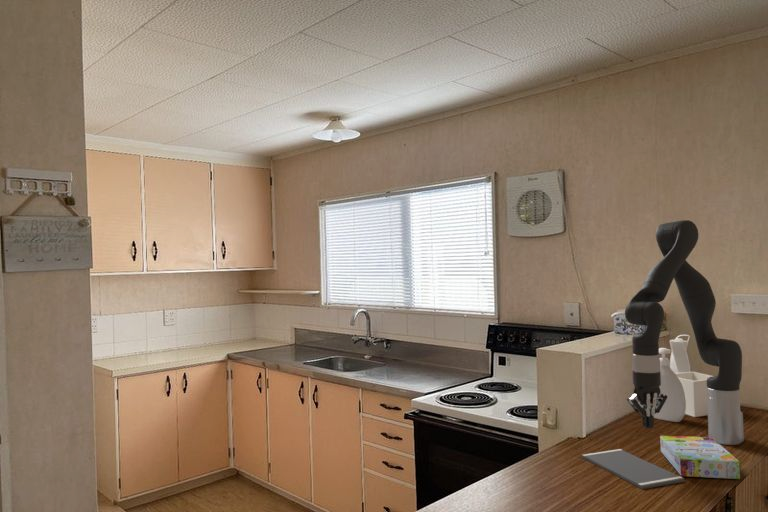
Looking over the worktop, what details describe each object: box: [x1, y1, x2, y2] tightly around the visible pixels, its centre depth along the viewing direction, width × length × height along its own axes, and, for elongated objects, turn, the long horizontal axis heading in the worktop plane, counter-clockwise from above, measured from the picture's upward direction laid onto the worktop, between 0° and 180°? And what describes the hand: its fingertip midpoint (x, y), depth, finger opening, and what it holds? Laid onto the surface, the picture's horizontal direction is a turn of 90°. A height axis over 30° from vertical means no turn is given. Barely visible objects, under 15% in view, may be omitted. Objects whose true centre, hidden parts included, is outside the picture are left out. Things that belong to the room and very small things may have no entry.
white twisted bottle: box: [669, 334, 691, 373], centre depth 234 cm, size 8×8×28 cm
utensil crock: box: [675, 371, 714, 418], centre depth 219 cm, size 14×14×14 cm
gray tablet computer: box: [580, 448, 686, 490], centre depth 165 cm, size 14×26×1 cm, turn 17°
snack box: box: [659, 435, 741, 480], centre depth 166 cm, size 21×6×15 cm
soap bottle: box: [654, 347, 686, 423], centre depth 211 cm, size 14×8×27 cm, turn 39°
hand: (648, 427), depth 167 cm, fingers closed
